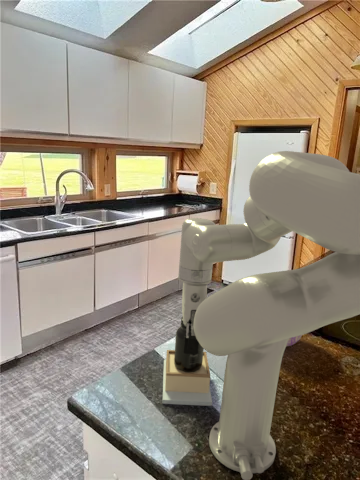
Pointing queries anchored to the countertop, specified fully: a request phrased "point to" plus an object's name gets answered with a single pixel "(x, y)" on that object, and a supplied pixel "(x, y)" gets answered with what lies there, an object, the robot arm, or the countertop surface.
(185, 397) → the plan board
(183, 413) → the countertop surface
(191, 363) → the supplement bottle
